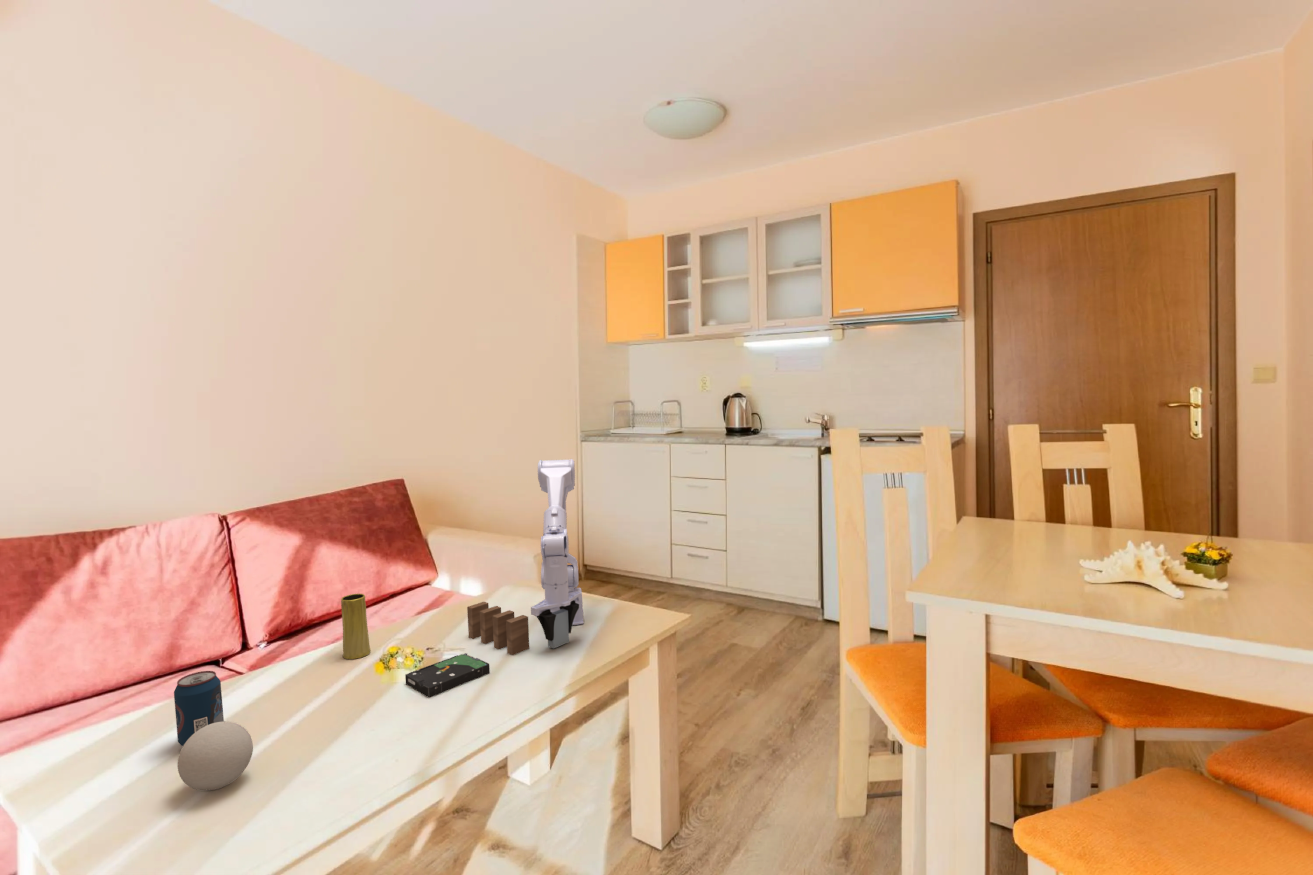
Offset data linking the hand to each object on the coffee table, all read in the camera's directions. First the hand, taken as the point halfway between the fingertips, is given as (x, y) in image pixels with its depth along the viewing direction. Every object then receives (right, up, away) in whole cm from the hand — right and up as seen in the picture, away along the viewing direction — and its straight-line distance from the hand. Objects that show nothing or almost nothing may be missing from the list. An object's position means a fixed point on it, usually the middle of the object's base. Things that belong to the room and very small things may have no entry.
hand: (558, 635), depth 155 cm
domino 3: (-9, -3, -2) cm, 10 cm away
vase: (-49, -4, -2) cm, 49 cm away
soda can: (-59, -7, -39) cm, 71 cm away
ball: (-47, -8, -53) cm, 71 cm away
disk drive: (-22, -5, -16) cm, 27 cm away
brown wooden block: (-13, -3, +1) cm, 14 cm away
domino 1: (-18, -3, +5) cm, 18 cm away
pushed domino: (-22, -2, +8) cm, 24 cm away
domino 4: (0, -2, 0) cm, 2 cm away
